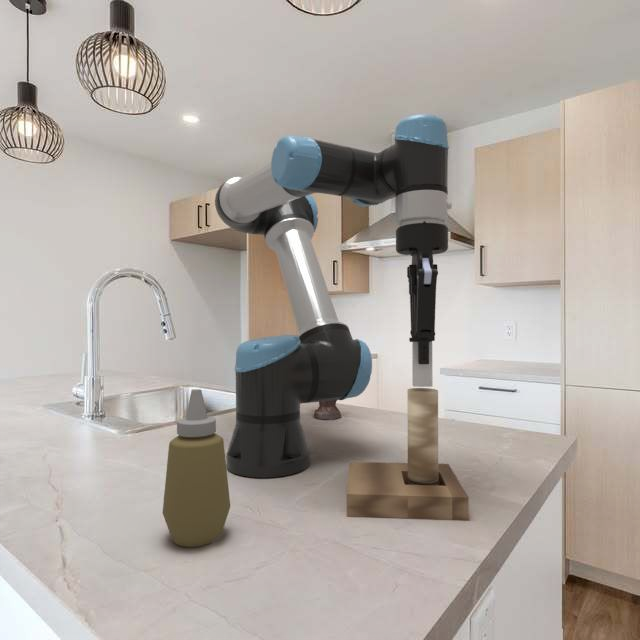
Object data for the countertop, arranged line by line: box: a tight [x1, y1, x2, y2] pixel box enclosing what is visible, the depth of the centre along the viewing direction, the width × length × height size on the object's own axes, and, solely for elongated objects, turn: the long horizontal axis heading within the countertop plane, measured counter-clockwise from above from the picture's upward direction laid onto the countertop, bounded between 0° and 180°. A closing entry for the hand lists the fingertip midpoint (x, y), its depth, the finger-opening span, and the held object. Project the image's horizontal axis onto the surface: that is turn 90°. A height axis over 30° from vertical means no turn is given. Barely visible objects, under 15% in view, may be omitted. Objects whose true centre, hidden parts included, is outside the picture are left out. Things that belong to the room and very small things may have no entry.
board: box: [346, 461, 470, 521], centre depth 68 cm, size 16×14×3 cm
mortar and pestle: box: [313, 400, 342, 421], centre depth 125 cm, size 12×9×20 cm
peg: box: [407, 387, 439, 486], centre depth 68 cm, size 4×4×16 cm
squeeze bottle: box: [162, 388, 231, 548], centre depth 56 cm, size 8×8×18 cm
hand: (422, 385), depth 68 cm, fingers closed
